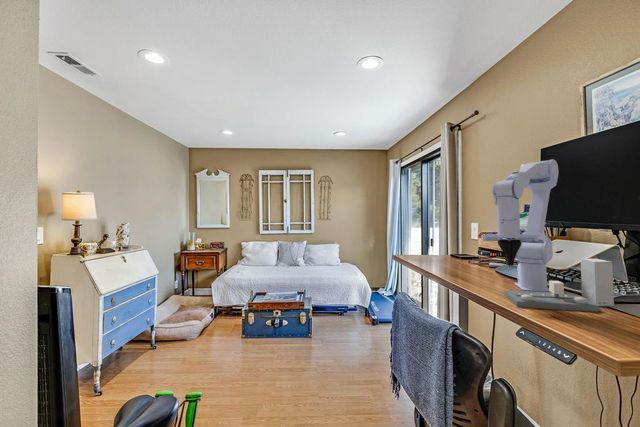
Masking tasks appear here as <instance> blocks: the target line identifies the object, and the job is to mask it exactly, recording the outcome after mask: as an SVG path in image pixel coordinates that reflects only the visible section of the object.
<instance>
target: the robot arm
mask: <svg viewBox="0 0 640 427" xmlns="http://www.w3.org/2000/svg"><path fill="white" fill-rule="evenodd" d="M558 179H559V165H558V162H557V160H555V159H554V158H552V159H548V160H541V161H536V162H535V161H534V162H527V163H525V162H524V163H522V164H521V165H520V168H519V170H513V171H511V174H510V175H508V176H506V177H505V179H503V180H502V181H501V180H498V181H496V182H495V183H494V184H493V186H492V193H491V194H492V197H493V200H494V205H495V206H496V216H497V217H496V219H497V233H491V234H488V233H487V234H481V236H480V238H481V242H496V243H497V244H498V247H500V251H502V254H503V256H504V260H505V264H506V265H507V266H510V267H511V266H512V267H513V266H514V264H515V260H516V261H517V262H519V263H518V264H517V267H516V269H517V282H514V285H515V286H517V287H518V288H520V289H521V291H531V292H550V291H549V287H548V281H547V280H548V276H547V263H549V262H550V261H552V258H553V254H554V251H553V241H552V240H551V238H550V237H548V236H547V235H545V232H544V231H545V225H546V218H547V212H548V205H549V200H550V193H551V189H553V188H554V187H556V186H557V183H558ZM525 189H527V190H529V191H531V192H532V193H531V198H530V204H529V210H528V216H527V222H526V228H525V231H524V232H523V233H521V220H520V218H521V216H520V199H522V196H523V193H524V192H525V191H524V190H525Z"/></svg>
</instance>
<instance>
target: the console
mask: <svg viewBox="0 0 640 427" xmlns="http://www.w3.org/2000/svg"><path fill="white" fill-rule="evenodd" d="M503 292H504V293H503V294H504V296H505V297H506V298H507V299H508V300H509V301H510V303H512V304H513V305H514V306H516V307H517V308H528V309H529V308H531V309H545V310H546V309H550V310H562V311H563V310H566V311H567V310H568V311H583V312H584V311H585V312H600V311H599V310H600V308H599V307H600V306H598V305H596V304H594V303H592V302H590V301H588V299H587V298H583V297H582V295H578V294H577V293H574V292H564V294H559V297H554V293H552V292H542V291H524V290H506V289H505V290H504V291H503Z"/></svg>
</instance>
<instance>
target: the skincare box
mask: <svg viewBox="0 0 640 427" xmlns="http://www.w3.org/2000/svg"><path fill="white" fill-rule="evenodd" d="M613 273H614V272H613V262H612V261H611V260H605V259H599V258H580V278H581V282H580V284H581V297H583V298H587V299H588V301H590V302H592V303H594V304H596V305H598V306H599V307H615V300H614V298H615V297H614V296H615V295H614V277H613V276H614V274H613Z"/></svg>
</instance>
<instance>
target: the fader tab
mask: <svg viewBox="0 0 640 427" xmlns="http://www.w3.org/2000/svg"><path fill="white" fill-rule="evenodd" d="M564 287H565V284H564V283H563V282H562V281H559V280H548V288H549V291H550V292H552V293H554V297H559V294H564V293H565V289H564Z"/></svg>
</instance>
